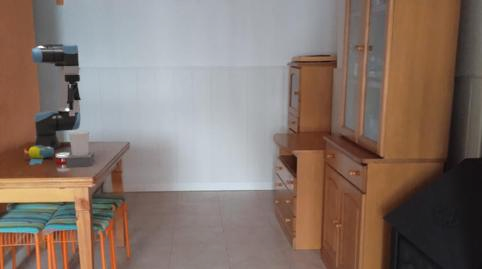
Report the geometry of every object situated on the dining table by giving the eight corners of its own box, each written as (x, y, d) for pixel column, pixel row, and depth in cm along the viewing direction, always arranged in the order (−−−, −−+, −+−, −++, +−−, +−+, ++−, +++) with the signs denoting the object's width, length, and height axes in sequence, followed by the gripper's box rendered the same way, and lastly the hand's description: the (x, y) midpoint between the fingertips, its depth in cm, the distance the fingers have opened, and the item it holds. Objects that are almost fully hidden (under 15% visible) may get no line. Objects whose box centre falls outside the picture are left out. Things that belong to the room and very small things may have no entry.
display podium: (71, 162, 244) (71, 153, 243) (94, 161, 245) (93, 152, 245) (66, 167, 232) (65, 157, 231) (90, 166, 234) (90, 156, 233)
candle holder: (78, 157, 231) (77, 134, 229) (66, 155, 237) (64, 133, 235) (94, 154, 239) (92, 132, 238) (82, 152, 245) (80, 130, 243)
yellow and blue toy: (26, 141, 262) (54, 140, 267) (27, 155, 263) (55, 154, 268) (20, 150, 236) (52, 148, 241) (21, 166, 237) (52, 164, 242)
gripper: (74, 75, 225) (77, 117, 228) (83, 72, 249) (86, 110, 253) (58, 75, 223) (62, 117, 227) (69, 73, 248) (72, 111, 252)
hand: (74, 114), depth 240 cm, fingers open, 13 cm apart
